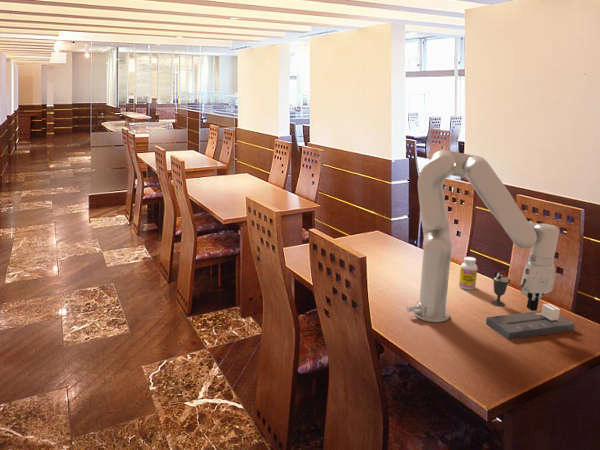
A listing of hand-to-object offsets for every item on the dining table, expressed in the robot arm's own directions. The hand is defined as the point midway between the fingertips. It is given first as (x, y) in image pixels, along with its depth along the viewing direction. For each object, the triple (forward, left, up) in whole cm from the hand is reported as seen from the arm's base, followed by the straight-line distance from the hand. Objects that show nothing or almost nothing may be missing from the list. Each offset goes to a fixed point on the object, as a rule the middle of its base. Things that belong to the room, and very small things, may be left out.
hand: (531, 309), depth 173 cm
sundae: (+2, +20, -7) cm, 21 cm away
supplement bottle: (0, +38, -7) cm, 38 cm away
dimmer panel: (0, 0, -7) cm, 7 cm away
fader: (+8, 0, -4) cm, 9 cm away
